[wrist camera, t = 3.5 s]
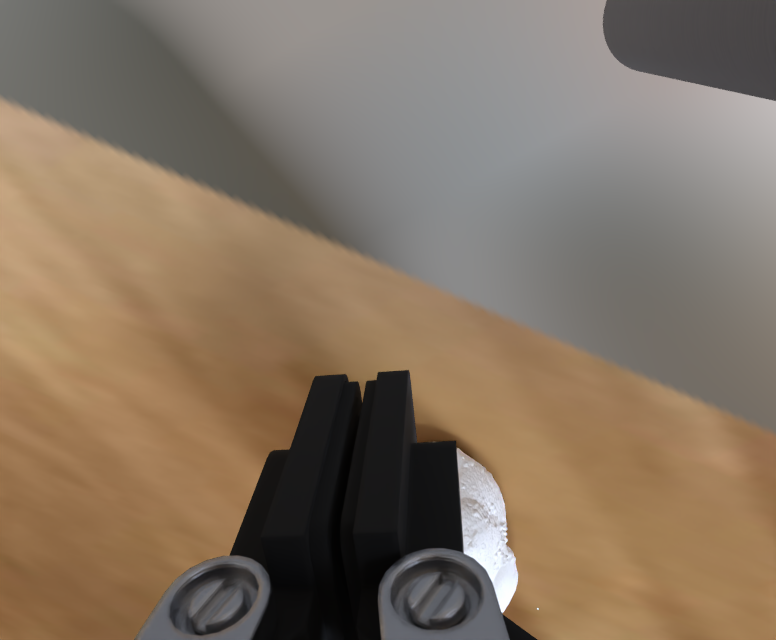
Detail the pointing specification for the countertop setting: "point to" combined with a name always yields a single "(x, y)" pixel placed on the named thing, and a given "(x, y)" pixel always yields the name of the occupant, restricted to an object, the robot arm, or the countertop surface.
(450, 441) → the robot arm
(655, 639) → the countertop surface
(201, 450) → the countertop surface
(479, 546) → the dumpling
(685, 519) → the countertop surface
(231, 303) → the countertop surface
